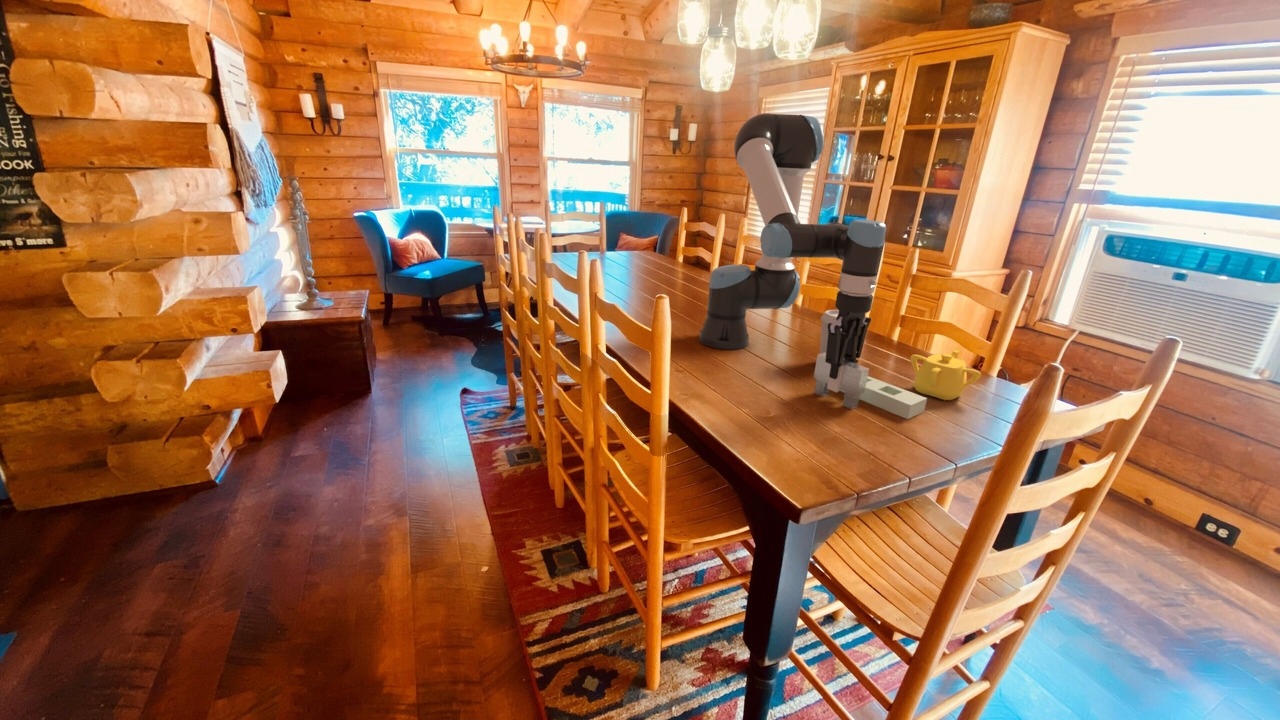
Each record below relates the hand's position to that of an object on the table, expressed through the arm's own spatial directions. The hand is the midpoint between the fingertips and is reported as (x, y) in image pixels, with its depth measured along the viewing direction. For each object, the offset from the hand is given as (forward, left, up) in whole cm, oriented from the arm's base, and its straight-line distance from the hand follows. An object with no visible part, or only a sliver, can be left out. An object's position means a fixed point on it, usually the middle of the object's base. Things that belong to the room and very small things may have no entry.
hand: (837, 388), depth 125 cm
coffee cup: (-15, +19, -3) cm, 24 cm away
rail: (+4, +9, -3) cm, 10 cm away
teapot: (+11, +27, -3) cm, 29 cm away
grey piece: (0, 0, -3) cm, 3 cm away
